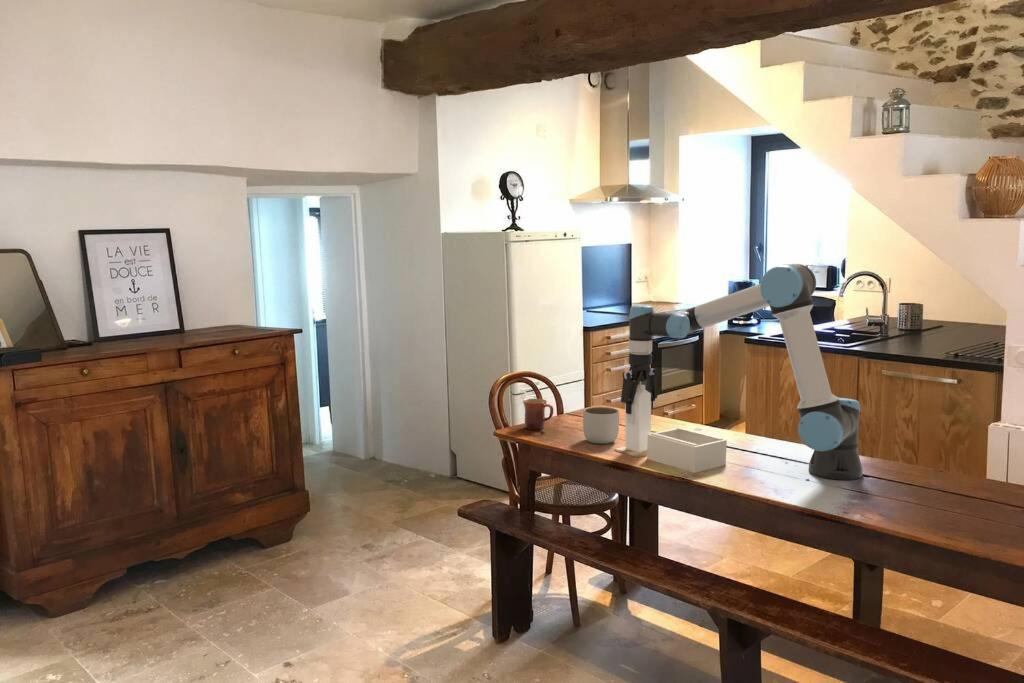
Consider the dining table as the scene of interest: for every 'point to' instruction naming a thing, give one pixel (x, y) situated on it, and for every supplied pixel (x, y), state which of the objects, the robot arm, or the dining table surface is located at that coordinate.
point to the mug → (536, 413)
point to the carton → (686, 449)
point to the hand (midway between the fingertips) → (638, 421)
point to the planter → (601, 424)
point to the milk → (639, 421)
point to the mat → (631, 452)
